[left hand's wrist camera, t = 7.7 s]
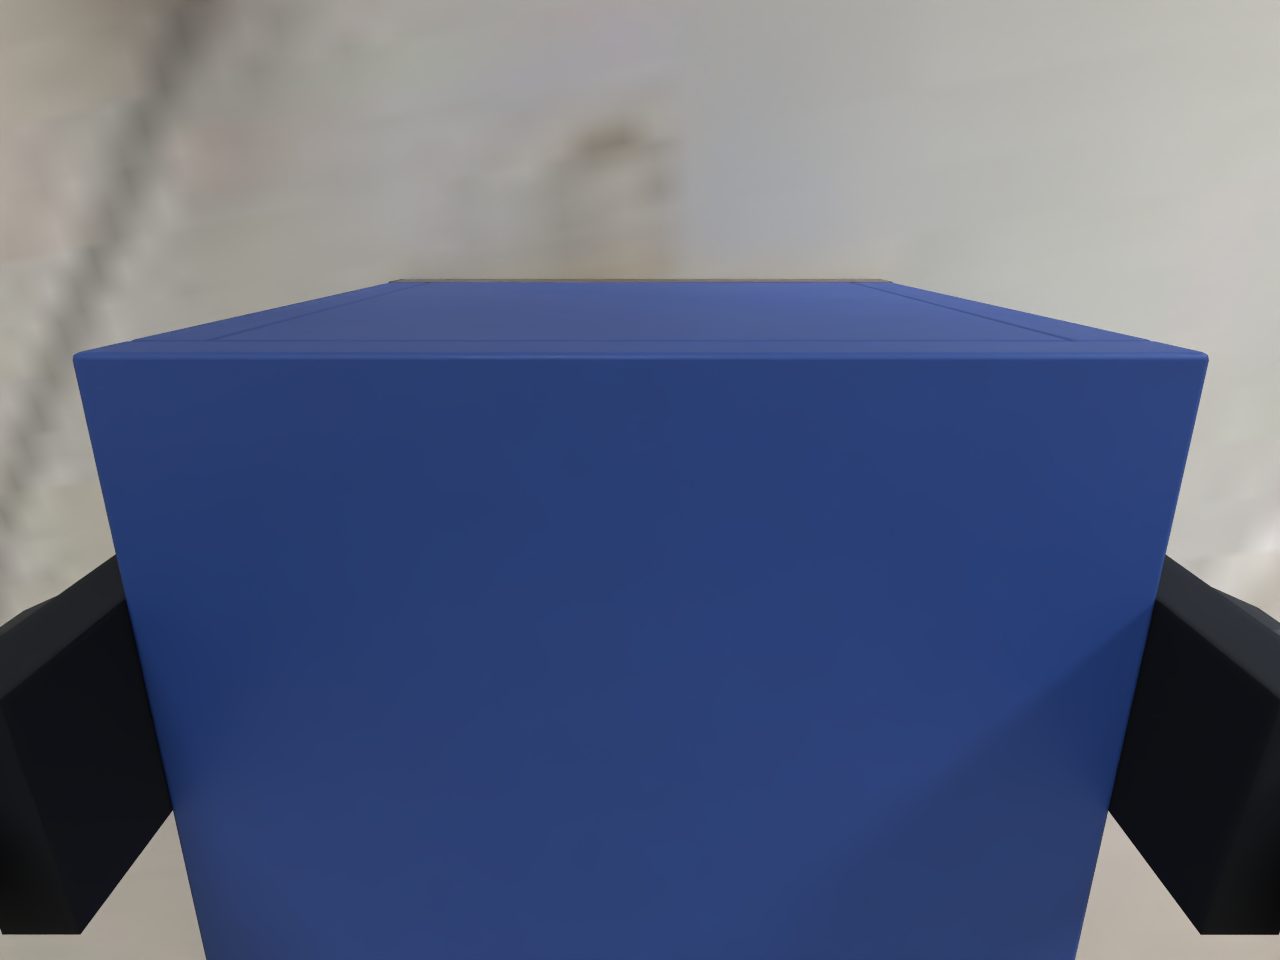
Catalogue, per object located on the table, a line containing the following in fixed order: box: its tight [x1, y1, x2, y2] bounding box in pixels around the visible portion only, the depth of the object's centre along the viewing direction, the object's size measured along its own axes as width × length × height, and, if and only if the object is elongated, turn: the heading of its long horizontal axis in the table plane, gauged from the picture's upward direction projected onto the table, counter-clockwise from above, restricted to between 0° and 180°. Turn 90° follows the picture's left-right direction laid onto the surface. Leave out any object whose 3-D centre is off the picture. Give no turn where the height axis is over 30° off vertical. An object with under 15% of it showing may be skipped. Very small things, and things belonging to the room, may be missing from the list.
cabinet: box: [73, 279, 1209, 960], centre depth 16 cm, size 22×11×11 cm, turn 0°
